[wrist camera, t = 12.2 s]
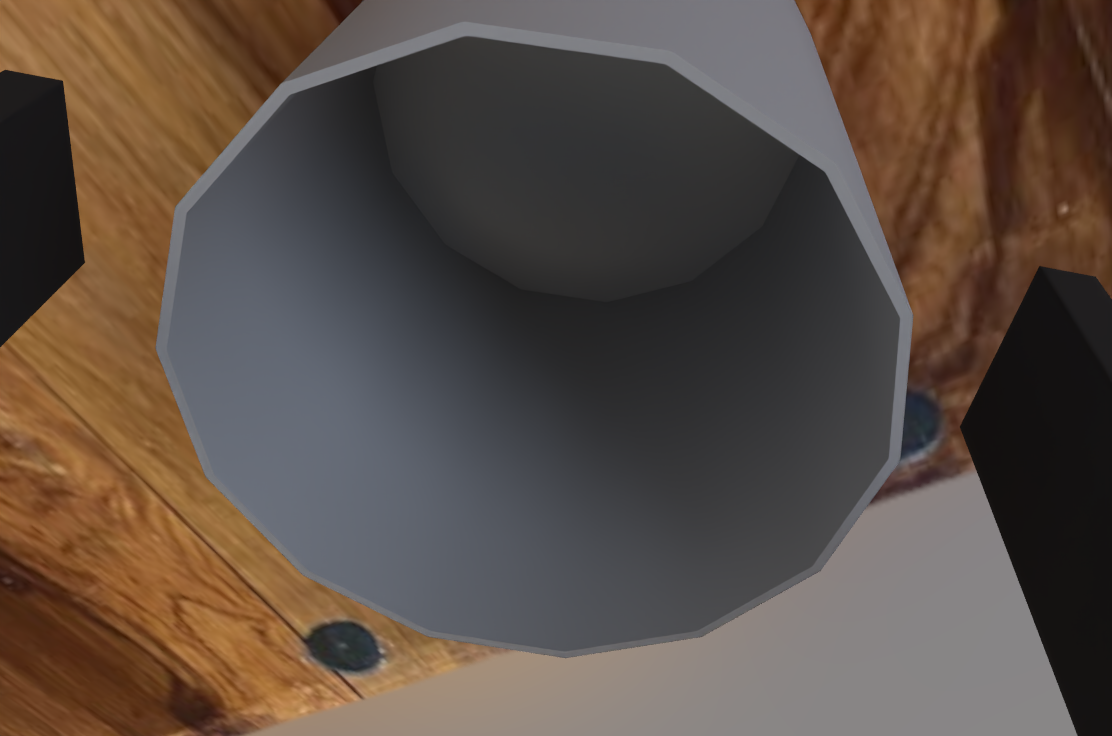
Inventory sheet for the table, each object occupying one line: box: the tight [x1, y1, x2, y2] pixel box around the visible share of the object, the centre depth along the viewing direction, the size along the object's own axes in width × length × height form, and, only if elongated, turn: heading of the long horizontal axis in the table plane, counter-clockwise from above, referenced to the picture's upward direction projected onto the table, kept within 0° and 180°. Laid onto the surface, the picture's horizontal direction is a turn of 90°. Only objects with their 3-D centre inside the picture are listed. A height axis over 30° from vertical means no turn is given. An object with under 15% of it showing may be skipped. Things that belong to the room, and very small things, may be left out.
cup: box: [156, 0, 913, 658], centre depth 16 cm, size 8×8×10 cm
